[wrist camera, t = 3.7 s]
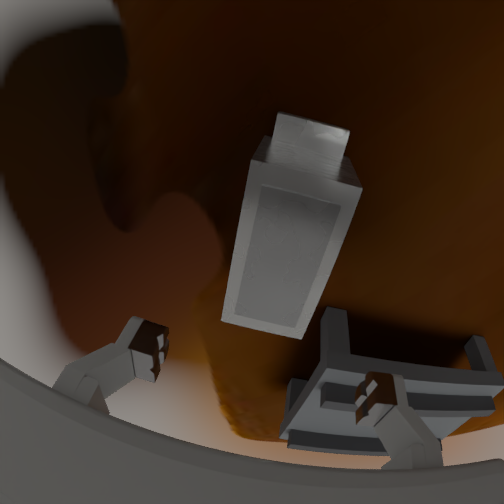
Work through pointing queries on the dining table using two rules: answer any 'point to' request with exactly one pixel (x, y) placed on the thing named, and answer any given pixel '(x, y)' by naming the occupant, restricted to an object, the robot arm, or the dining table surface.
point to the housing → (290, 225)
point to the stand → (356, 367)
